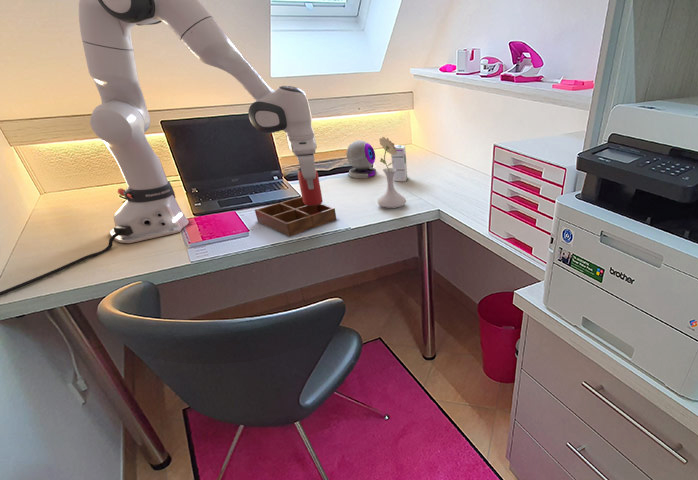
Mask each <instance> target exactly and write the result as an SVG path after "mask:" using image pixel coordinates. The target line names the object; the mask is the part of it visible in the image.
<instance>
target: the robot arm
mask: <svg viewBox="0 0 698 480" xmlns="http://www.w3.org/2000/svg"><path fill="white" fill-rule="evenodd" d="M78 21H79V22H78V23H79V33H80V37H81V42H82V47H83V52H84V57H85V61H86V65H87V69H88V74H89V76H90V77H91V78H92V81H93V82H94V84H95V87H96V89H97V91H98V94H99V97H100V100H101V104H99V105H97V106H96V107H94V109H92V112H91V115H90V120H89V124H90V127H91V129H92V131H93V133H94V135H96V136H97V137H98V138H99V139H100V140H102V142H103V144H104V145H105V147H106V148H107V149H108V150H109V152H110V154H111V155H112V156H113V158H114V160H115V161H116V163H117V165H118V167H119V169H120V172H121V174H122V176H123V178H124V181H125V183H126V185H127V188H125V189H124V188H122V187H120V188H118V189H117V194H119V195H121V196H123V197H124V199H125V202H124V203H123V204H122V205H121V206H120V207H119V209H118V210H117V211H116V212H115V213H114V214H113V223H114V227H112V229H111V230H110V232H109V235H110V238H109V240H108V245H107V246H106V247H105V248H104V249H102V250H100V251H97V252H93V253H90V254H87V255H85V256H82V257H80V258H78V259H75V260H73V261H71V262H69V263H66V264H64V265H62V266H59V267H57V268H55V269H52V270H51V271H48V272H46V273H43V274H41V275H39V276H35V277H34V278H31V279H29V280H26V281H24V282H22V283H18V284H17V285H14V286H11V287H8V288H6V289H4V290H2V291H0V297H1V296H4V295H6V294H8V293H11V292H14V291H16V290H18V289H21V288H24V287H26V286H29V285H31V284H33V283H35V282H38V281H40V280H43V279H45V278H47V277H50V276H52V275H54V274H56V273H57V274H58V273H59V272H61V271H63V270H66V269H68V268H70V267H73V266H74V265H77V264H80V263H81V262H84V261H86V260H88V259H90V258H94V257H97V256H99V255H102V254H105V253H106V252H108V251H110V250H111V249H112V248H113V242H114V241H115V242H118V243H120V244H132V243H133V244H134V243H137V242H141V241H146V240H150V239H155V238H156V239H157V238H160V237H165V236H168V235H174V234H177V233H180V232H181V231H182V229H184V228H185V227H186V226H188V224H189V223H190V221H189V219H188V218H187V217H186V215H185V214H184V212H183V211H182V209H181V207H180V205H179V203H178V201H177V199H176V198H177V197H176V193H175V190H174V188H173V186H172V184H171V182H170V181H169V180H168V178H167V175H166V172H165V170H164V167H163V165H162V162H161V159H160V157H159V156H158V155H157V154H156V153H155V150H153V148H152V146H151V145H150V143H149V141H148V139H147V137H146V134H145V133H146V132H147V131H148V130H149V128H150V126H151V125H150V124H151V116H150V113H149V111H148V107H147V104H146V99H145V97H144V94H143V90H142V87H141V84H140V79H139V75H138V70H137V63H136V56H135V52H134V46H133V40H132V30H133V27H134V26H135V25H136V26H138V27H139V26H151V25H152V26H153V25H157V24H160V23H164V24H165V25H166V26H168V27H169V28H170V29H171V31H172V32H173V33H174V34H175V35H176V36H177V38H178V39H179V40H180V41H181V43H182V44H183V45H184V46H185V48H187V50H188V51H189V52H190V53H191V54H193V56H194V57H196V58H197V59H198V60H199V61H201V62H202V63H203V64H205V65H208V66H211V67H214V68H217V69H219V70H222V71H224V72H226V73H227V74H229V75H230V76H231V77H233V78H234V79H235V80H236V81H237V82H238V83H239V85H240V86H242V87H243V88H244V90H245V91H246V92H247V93H248V94H249V95H250V96H251V98H252V99H253V100H254V102H252V103H251V105H250V106H249V108H248V113H247V114H248V119H249V122H250V123H251V125H252V126H253V127H254V128H255V129H256V130H257V131H259V132H260V133H263V134H274V133H277V132H281V131H283V132H284V133H285V138H286V143H287V147H288V150H289V151H291V152H292V153H293V155H294V156H295V157H296V159H297V162H298V165H299V168H301V171H302V174H303V177H304V179H305V180H306V181H307V184H308V189H314V185H313V179H315V178H316V171H317V170H316V161H315V154H316V151H317V148H318V147H317V140H316V135H315V130H314V128H313V125H312V119H313V116H312V113H311V107H310V102H309V99H308V96H307V94H306V92H305V91H304V90H302V89H301V88H299V87H295V86H292V85H281V86H278V88H277V89H276V90H274V89H272V87H271V86H269V85H268V84H267V82H266V81H265V80H264V78H262V76H261V75H260V74H259V73H258V72H257V71H256V69H254V67H253V66H252V65H251V64H250V62H249V61H248V60H247V59H246V58H245V57H244V56H243V55H242V54H241V52H240V51H239V49H238V48H237V47H236V45H234V43H233V42H232V40H231V39H230V38H229V37H228V35H227V34H226V33H225V31H224V30H223V29H222V27H221V25H220V24H219V23H218V22H217V21H216V19H215V18H214V16H212V15H211V13H210V12H209V11H208V9H206V7H205V6H204V5H203V3H202V2H200V0H79V1H78ZM315 170H316V171H315Z"/></svg>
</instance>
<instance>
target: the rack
mask: <svg viewBox="0 0 698 480" xmlns="http://www.w3.org/2000/svg"><path fill="white" fill-rule="evenodd" d="M254 213H255V216H256V220H257V222H258V223H259V224H261V225H264V226H266V227H268V228H269V229H271V230H274V231H276V232H278V233H280V234H283V235H284V236H287V237H290V238H291V237H293V236H295V235H299V234H301V233H304V232H307V231H310V230H312V229H315V228H319V227H321V226H324V225H327V224H329V223H332V222H335V221H337V214H336V208H335V207H333V206H330V205H327V204H324V203H323V202H322V203H321V204H319V205H316V206H307V205H305V204H304V203H303V199H302V195H301V196H297V197H295V198H291V199H288V200H285V201H281V202H277V203H274V204H270V205H266V206H264V207H260V208H257V209H254Z"/></svg>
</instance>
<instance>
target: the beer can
mask: <svg viewBox="0 0 698 480" xmlns="http://www.w3.org/2000/svg"><path fill="white" fill-rule="evenodd" d="M315 171H316V178H315V179H313V185H314V189H308V184H307V181H306V180H305V179H304V177H303V174H302V171H301V168H300V167H299V168H298V169H297V179H298V185H299V189H300V194H301V196H302V199H303V203H304V204H305V205H307V206H316V205H319V204H321V203H322V204H323V202H324V201H323V195H322V188H321V184H320V178H319V173H318V171H317V170H316V169H315Z"/></svg>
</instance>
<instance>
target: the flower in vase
mask: <svg viewBox="0 0 698 480" xmlns="http://www.w3.org/2000/svg"><path fill="white" fill-rule="evenodd" d="M378 140H379V144H380V146H381V147H382V149H383V150H384V155H383V158H382V157H380V160H379V162H380V163H382V164H383V165H385V166H386V168H383V169H382V171H383V173H384V175H385V177H386V181H387V189H386V191H384V192H383V193H382V194H381V195H380V196H379V197H378V198H377V205H379V206H380V207H383V208H387V209H394V208H395V209H396V208H400V207H402V206H405V204H406V203H407V199H406V197H405V196H404V195H403V194H401V193H400V192H398V191H397V190H396V189H395V185H394V180H393V177H394V173H395V171H396V169H393V168H392V167H389V166H390V165H391V166H392V163H393V162H394V161H393V162H392V161H391V162H390V163H389V164H387V162H386V154H387V153H388V154H389V155H396V154H397V153H396V152H397V149H396V147H395V146H394V145H395V143H394V142H392V140H390V139H389V137H385V136H382V137H380V138H379V139H378Z"/></svg>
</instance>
